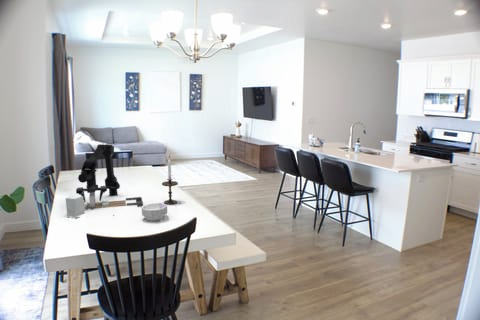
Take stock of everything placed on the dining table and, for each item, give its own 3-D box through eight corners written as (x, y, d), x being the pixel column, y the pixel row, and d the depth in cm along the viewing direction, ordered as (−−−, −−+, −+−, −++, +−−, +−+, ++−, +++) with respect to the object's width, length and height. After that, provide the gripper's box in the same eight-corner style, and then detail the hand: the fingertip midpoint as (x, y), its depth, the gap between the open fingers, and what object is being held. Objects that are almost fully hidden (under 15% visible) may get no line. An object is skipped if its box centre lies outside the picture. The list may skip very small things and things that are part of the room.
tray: (126, 202, 256) (125, 198, 256) (141, 201, 260) (141, 196, 259) (126, 207, 243) (126, 203, 243) (143, 206, 246) (142, 202, 246)
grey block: (90, 203, 247) (90, 190, 245) (95, 203, 248) (94, 190, 246) (89, 208, 237) (89, 194, 236) (94, 207, 238) (94, 194, 237)
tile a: (102, 203, 248) (102, 201, 248) (108, 202, 249) (108, 200, 249) (102, 204, 244) (102, 202, 244) (108, 204, 246) (108, 202, 245)
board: (87, 205, 248) (87, 203, 248) (125, 202, 256) (125, 200, 256) (85, 211, 235) (85, 209, 235) (126, 207, 243) (126, 205, 243)
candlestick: (176, 200, 262) (175, 152, 256) (179, 204, 252) (178, 154, 247) (161, 201, 258) (159, 153, 253) (164, 205, 248) (162, 155, 243)
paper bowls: (137, 218, 222) (136, 205, 221) (158, 213, 233) (158, 201, 231) (150, 224, 211) (150, 211, 210) (172, 218, 222) (172, 206, 221)
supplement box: (85, 215, 227) (83, 195, 225) (76, 219, 220) (74, 198, 218) (75, 214, 230) (74, 194, 227) (66, 217, 223) (65, 197, 221)
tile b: (102, 205, 244) (102, 202, 244) (108, 204, 245) (108, 202, 245) (102, 206, 240) (102, 204, 240) (108, 206, 241) (108, 203, 241)
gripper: (74, 182, 229) (76, 206, 232) (105, 180, 235) (107, 204, 238) (76, 179, 239) (77, 202, 242) (106, 177, 245) (107, 199, 248)
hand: (92, 202), depth 242 cm, fingers open, 9 cm apart
